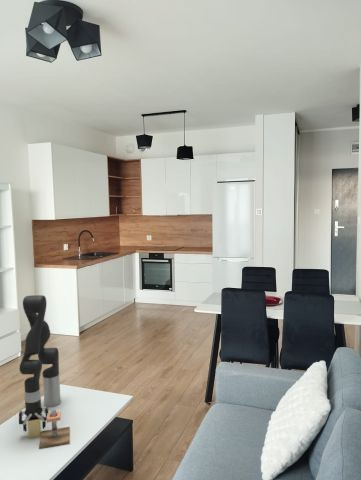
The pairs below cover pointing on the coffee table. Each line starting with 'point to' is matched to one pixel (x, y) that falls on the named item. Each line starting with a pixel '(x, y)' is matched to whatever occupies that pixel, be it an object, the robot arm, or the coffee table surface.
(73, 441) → the coffee table surface
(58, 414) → the orange square ring
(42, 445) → the post stand
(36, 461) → the coffee table surface
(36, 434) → the sleeve
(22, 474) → the coffee table surface
